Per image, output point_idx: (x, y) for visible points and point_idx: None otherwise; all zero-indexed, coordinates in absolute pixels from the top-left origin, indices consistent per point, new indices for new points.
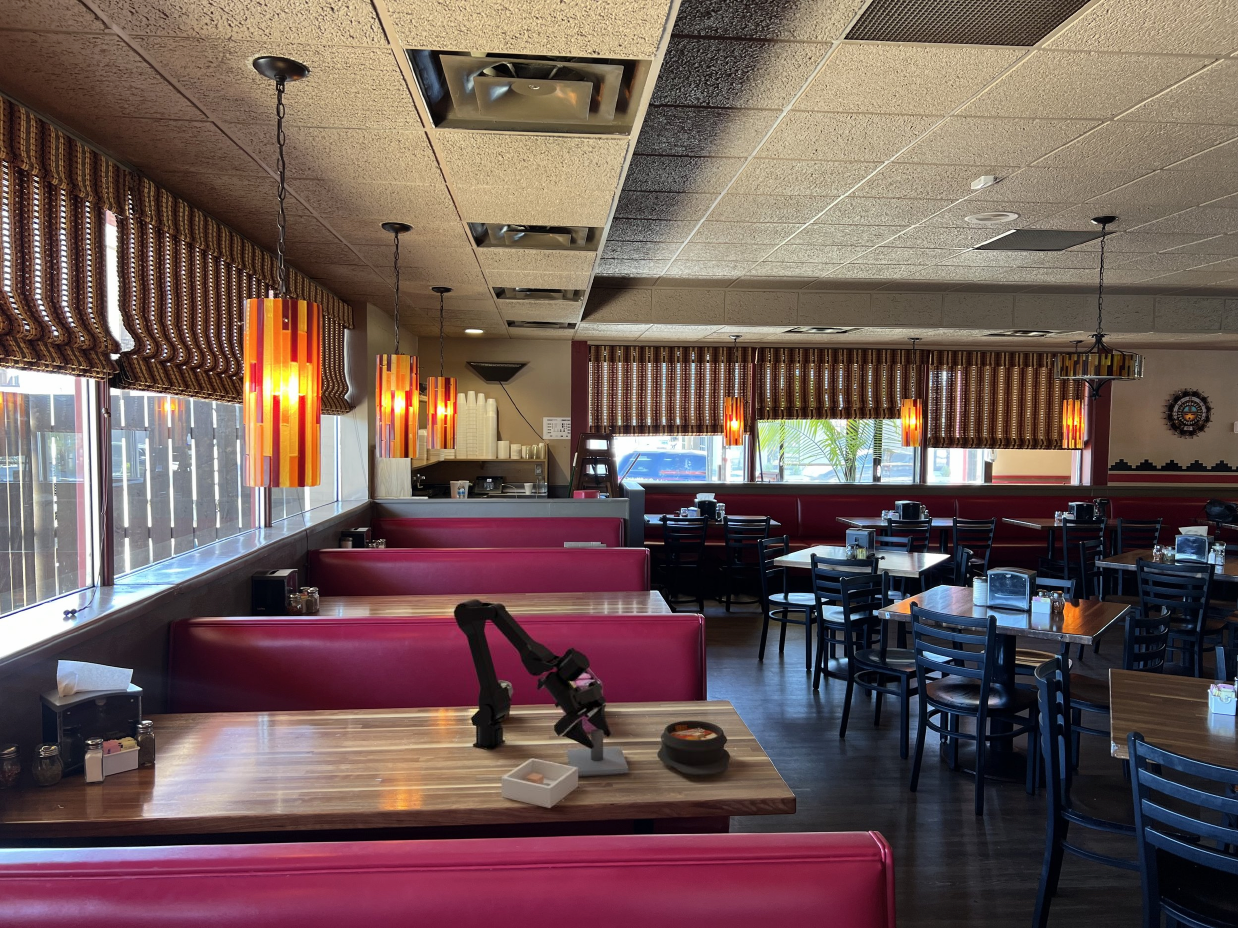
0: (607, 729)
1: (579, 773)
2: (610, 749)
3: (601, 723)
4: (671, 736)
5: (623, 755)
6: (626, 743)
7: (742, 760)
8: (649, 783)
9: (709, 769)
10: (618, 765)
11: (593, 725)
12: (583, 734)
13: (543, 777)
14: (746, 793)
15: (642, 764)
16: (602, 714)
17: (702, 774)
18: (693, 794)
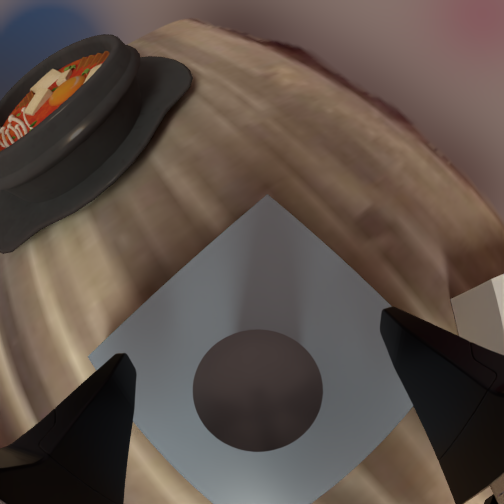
0: (112, 377)
1: None
2: None
3: (93, 441)
4: (95, 78)
5: (156, 293)
6: (30, 385)
7: None
8: (271, 136)
9: (152, 65)
10: (269, 241)
11: (123, 499)
12: (484, 351)
13: None
14: (196, 33)
15: (145, 234)
16: (25, 454)
17: (180, 63)
18: (257, 61)
